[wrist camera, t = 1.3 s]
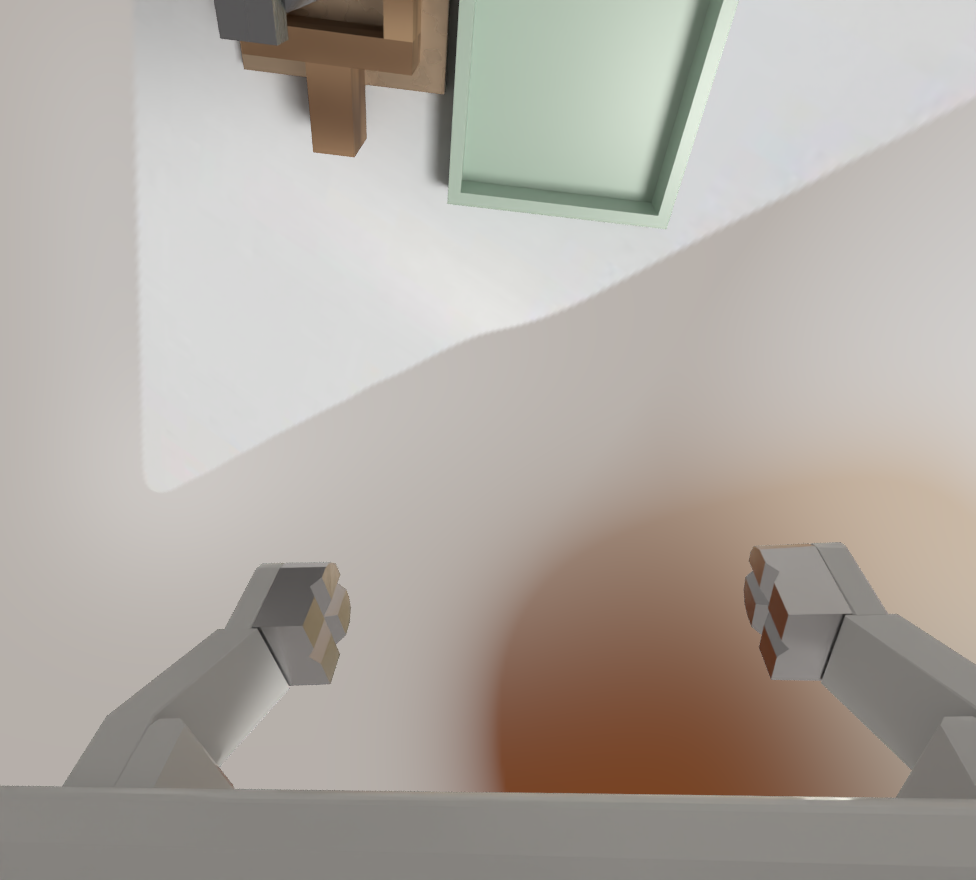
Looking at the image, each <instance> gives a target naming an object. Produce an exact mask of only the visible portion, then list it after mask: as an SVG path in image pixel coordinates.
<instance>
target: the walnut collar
mask: <svg viewBox="0 0 976 880" xmlns="http://www.w3.org/2000/svg"><path fill="white" fill-rule="evenodd" d="M421 6H422V0H383V21H384V27H381V26H374V25H366V24H359V23H351V22H343V21H336V20H328V19H321V18H313V17H306V16H298V15H290V14H289V13H286V17H287V27H288V36H289V40H287V41H285V42H283V43H281V44H279V45H277V46H276V45H268V44H260V43H253V42H245V41H241V48H242V54H246V55H254V56H262V57H269V58H277V59H285V60H293V61H301V62H305V65H306V76H307V87H308V99H309V110H310V121H311V132H312V144H313V152H316V153H324V154H332V155H341V156H349V157H355V156H356V154H357V152H358V151H359V149H360V148H361V146H362V145H363V143H364V142H365V140H366V139H367V134H366V102H365V70H371V71H379V72H387V73H394V74H402V75H410V76H412V75H413V73H414V72H415V70H416V68H417V67H418V65H419V63H420V48H421Z"/></svg>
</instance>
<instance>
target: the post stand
mask: <svg viewBox="0 0 976 880" xmlns="http://www.w3.org/2000/svg"><path fill="white" fill-rule="evenodd" d="M214 3H215V9H216V15H217V21H218V27H219V33H220V38H222V39H229V40H237V41H240V45H241V41H245V42H253V43H260V44H268V45H276V46H277V45H279V44H281V43H283V42H285V41H287V40H289V36H288V27H287V17H286V13H289V14H290V15H298V16H306V17H313V18H321V19H328V20H336V21H343V22H351V23H359V24H366V25H374V26H381V27H384V21H383V0H214ZM449 7H450V0H422V6H421V48H420V63H419V65H418V67H417V68H416V70H415V72H414V73H413V75H412V76H410V75H402V74H394V73H387V72H379V71H371V70H365V85H373V86H381V87H389V88H397V89H405V90H413V91H421V92H428V93H436V94H444V93H445V88H446V68H447V47H448V27H449ZM241 52H242V48H241ZM242 59H243V65H244V69H247V70H255V71H263V72H271V73H278V74H286V75H294V76H302V77H307V76H306V65H305V62H301V61H293V60H285V59H277V58H269V57H262V56H254V55H246V54H242Z"/></svg>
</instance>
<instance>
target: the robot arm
mask: <svg viewBox="0 0 976 880" xmlns="http://www.w3.org/2000/svg"><path fill="white" fill-rule="evenodd" d="M749 562H750V565H751V567H752V570H753V571H752V572H751V573H750V574H748V575H747V576H746V577H745V585H744V602H745V607H746V612H747V616H748V619H749V621H750V624H751V627H752V628H754V629H755V630H756V631H757V632H759V633H760V634H761V635H762V636H761V640H760V645H759V649H760V652H761V654H762V657H763V660H764V662H765V665H766V667H767V670H768V673H769V676H770V678H771V680H821V683H822V684H823V685H824V686H825V687H826V688H827V689H828V690H829V691H830V692H831V693H832V694H833V695H834V696H835V697H836V698H837V699H838V700H839V701H840V702H842V704H843V705H845V706H846V707H847V708H848V709H849V710H850V711H851V712H852V713H853V714H854V715H855V716H856V717H857V718H858V719H859V720H860V721H861V722H862V723H863V724H864V725H865V726H866V727H868V728H869V729H870V730H871V731H872V732H873V733H874V734H875V735H876V736H877V737H878V738H879V739H880V740H881V741H882V742H883V743H884V744H885V745H886V746H887V747H888V748H889V749H890V750H891V751H892V752H894V753H895V754H896V755H897V756H898V757H899V758H900V759H901V760H902V761H903V762H904V763H905V764H906V765H907V766H908V767H909V768H910V769H911V770H912V771H911V773H910V775H909V776H908V778H907V780H906V782H905V783H904V785H903V786H902V788H901V790H900V791H899V793H898V795H897V797H896V798H866V797H792V796H785V797H784V796H718V795H711V796H710V795H646V794H640V795H639V794H576V793H498V792H419V791H417V792H415V791H344V790H342V791H340V790H268V789H267V790H265V789H261V790H260V789H234V786H233V784H232V783H231V782H230V781H229V779H228V778H227V777H226V775H225V774H224V773H223V772H222V771H221V769H220V768H219V767H220V766H221V765H222V764H223V763H224V762H225V761H226V759H227V758H228V757H229V756H230V755H231V754H232V753H233V751H234V750H235V749H236V748H237V747H238V746H239V745H240V743H242V741H243V740H244V739H245V738H246V737H247V736H248V735H249V734H250V732H251V731H252V730H253V729H254V728H255V727H256V726H257V724H258V723H259V722H260V721H261V720H262V719H263V718H264V717H265V716H266V714H267V713H268V712H269V711H270V710H271V709H272V708H273V707H274V705H275V704H276V703H277V702H278V701H279V700H280V699H281V697H282V696H283V695H284V694H285V693H286V692H287V691H288V690H289V689H290V687H289V686H293V685H320V684H330V683H331V681H332V677H333V674H334V671H335V668H336V665H337V661H338V659H339V656H340V654H339V651H338V649H337V647H336V644H337V643H338V642H339V641H340V640H341V639H342V638H343V637H344V636H345V635H346V633H347V629H348V626H349V623H350V610H351V607H350V601H349V596H348V593H347V591H346V589H345V588H344V587H342V586H341V585H340V584H338V580H339V577H340V573H339V570H338V568H337V566H336V564H335V563H331V562H319V563H318V562H313V563H312V562H311V563H268V564H267V563H263V564H261V565H260V566H259V567H258V568H257V569H256V570H255V572H254V574H253V576H252V578H251V579H250V581H249V583H248V585H247V587H246V589H245V591H244V593H243V595H242V597H241V599H240V600H239V602H238V605H237V606H236V608H235V610H234V612H233V614H232V616H231V618H230V619H229V621H228V623H227V625H226V627H225V629H218V630H216V631H215V632H214V633H212V634H211V635H210V636H208V637H207V638H206V639H205V640H203V641H202V642H201V643H200V644H198V645H197V646H196V647H195V648H193V649H192V650H191V651H189V652H188V653H187V654H186V655H184V656H183V657H182V658H180V659H179V660H178V661H177V662H175V663H174V664H173V665H171V666H170V667H169V668H168V669H166V670H165V671H164V672H163V673H161V674H160V675H159V676H157V677H156V678H155V679H154V680H152V681H151V682H150V683H148V684H147V685H146V686H145V687H143V688H142V689H141V690H140V691H138V692H137V693H136V694H134V695H133V696H132V697H131V698H129V699H128V700H127V701H125V702H124V703H123V704H122V705H120V706H119V707H118V708H117V709H115V710H114V711H113V712H111V713H110V714H109V715H107V716H106V718H105V720H104V721H103V723H102V724H101V726H100V727H99V729H98V731H97V732H96V734H95V736H94V737H93V739H92V740H91V742H90V743H89V745H88V746H87V748H86V750H85V751H84V753H83V754H82V756H81V758H80V759H79V761H78V763H77V764H76V766H75V767H74V769H73V770H72V772H71V773H70V775H69V777H68V778H67V780H66V781H65V783H64V785H63V786H62V787H54V786H0V880H976V665H975V664H974V663H972V662H971V661H969V660H968V659H966V658H964V657H963V656H962V655H960V654H958V653H957V652H955V651H954V650H952V649H951V648H949V647H948V646H946V645H945V644H943V643H941V642H940V641H938V640H937V639H935V638H934V637H932V636H931V635H929V634H928V633H926V632H925V631H923V630H921V629H920V628H918V627H917V626H915V625H914V624H912V623H911V622H909V621H908V620H906V619H904V618H903V617H901V616H900V615H898V614H888V613H887V611H886V610H885V608H884V606H883V605H882V603H881V601H880V600H879V598H878V597H877V595H876V593H875V592H874V590H873V589H872V587H871V585H870V584H869V582H868V581H867V579H866V577H865V576H864V574H863V572H862V571H861V569H860V568H859V566H858V564H857V563H856V561H855V560H854V558H853V556H852V555H851V553H850V552H849V550H848V548H847V547H846V546H845V545H844V544H842V543H841V542H835V543H812V544H787V545H765V546H754V547H753V549H752V550H751V552H750V558H749Z"/></svg>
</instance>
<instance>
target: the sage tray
mask: <svg viewBox="0 0 976 880" xmlns="http://www.w3.org/2000/svg"><path fill="white" fill-rule="evenodd" d="M738 2H739V0H459V15H458V32H457V49H456V66H455V83H454V100H453V117H452V134H451V151H450V168H449V185H448V202H447V204H453V205H462V206H471V207H479V208H488V209H496V210H505V211H514V212H522V213H531V214H539V215H548V216H556V217H565V218H574V219H582V220H591V221H599V222H608V223H617V224H625V225H634V226H642V227H651V228H660V229H667V225H668V222H669V219H670V216H671V213H672V210H673V207H674V203H675V200H676V197H677V194H678V191H679V188H680V184H681V181H682V178H683V175H684V172H685V169H686V166H687V162H688V159H689V156H690V153H691V150H692V147H693V144H694V140H695V137H696V134H697V131H698V128H699V125H700V121H701V118H702V115H703V112H704V109H705V106H706V103H707V99H708V96H709V93H710V90H711V87H712V84H713V81H714V77H715V74H716V71H717V68H718V65H719V62H720V58H721V55H722V52H723V49H724V46H725V43H726V40H727V36H728V33H729V30H730V27H731V24H732V21H733V18H734V14H735V11H736V8H737V5H738Z"/></svg>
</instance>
